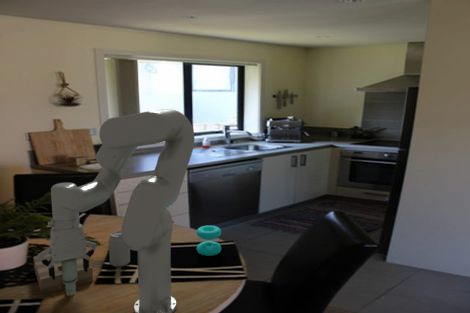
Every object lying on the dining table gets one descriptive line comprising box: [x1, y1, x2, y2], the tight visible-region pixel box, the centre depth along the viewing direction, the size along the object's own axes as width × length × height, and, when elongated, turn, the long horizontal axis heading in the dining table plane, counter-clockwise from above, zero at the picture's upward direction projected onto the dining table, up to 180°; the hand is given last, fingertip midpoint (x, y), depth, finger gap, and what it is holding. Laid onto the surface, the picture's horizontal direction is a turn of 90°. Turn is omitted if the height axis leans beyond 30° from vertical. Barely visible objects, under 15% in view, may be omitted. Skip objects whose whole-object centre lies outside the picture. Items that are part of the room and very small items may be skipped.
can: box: [108, 230, 131, 268], centre depth 146 cm, size 8×8×12 cm
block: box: [32, 253, 94, 295], centre depth 137 cm, size 20×16×5 cm
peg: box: [61, 258, 78, 297], centre depth 124 cm, size 4×4×12 cm
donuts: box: [196, 225, 222, 257], centre depth 158 cm, size 10×10×10 cm
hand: (69, 274), depth 123 cm, fingers open, 9 cm apart
